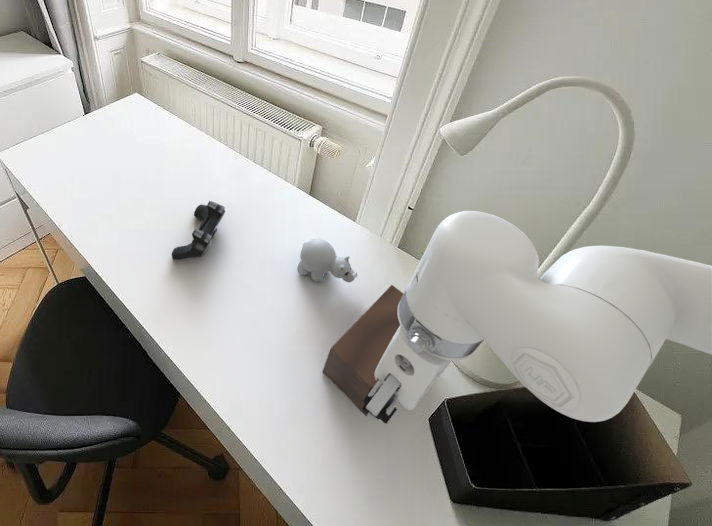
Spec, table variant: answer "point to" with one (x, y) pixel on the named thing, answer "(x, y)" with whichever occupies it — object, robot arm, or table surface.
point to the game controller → (201, 231)
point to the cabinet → (364, 348)
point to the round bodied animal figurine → (324, 261)
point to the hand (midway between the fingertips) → (395, 386)
